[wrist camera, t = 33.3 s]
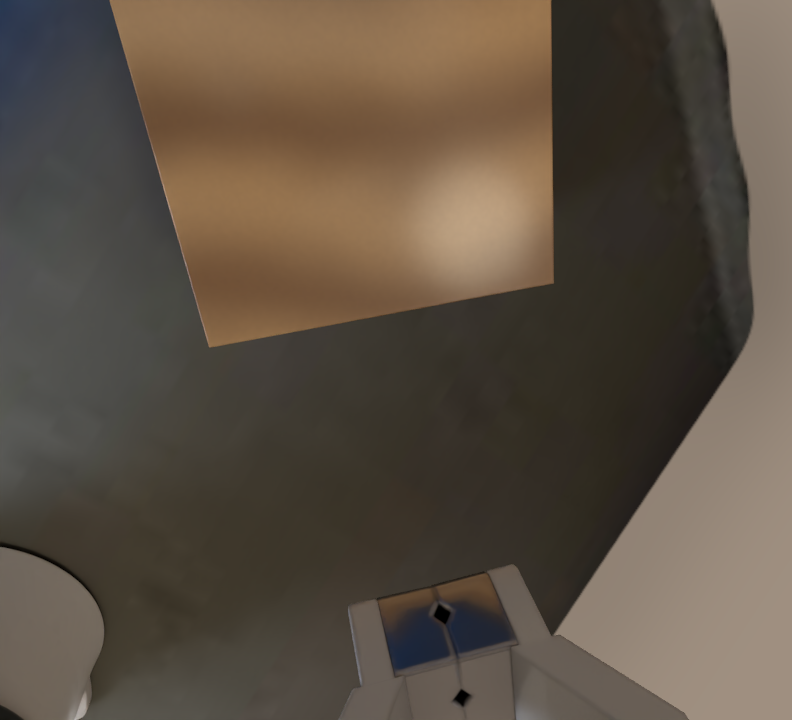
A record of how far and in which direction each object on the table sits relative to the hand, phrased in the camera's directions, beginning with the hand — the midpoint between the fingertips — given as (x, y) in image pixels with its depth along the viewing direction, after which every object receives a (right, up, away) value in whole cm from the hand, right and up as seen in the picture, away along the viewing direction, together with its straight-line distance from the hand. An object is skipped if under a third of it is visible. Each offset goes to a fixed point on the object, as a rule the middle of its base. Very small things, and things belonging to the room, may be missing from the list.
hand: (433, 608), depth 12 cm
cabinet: (-4, +17, +20) cm, 27 cm away
